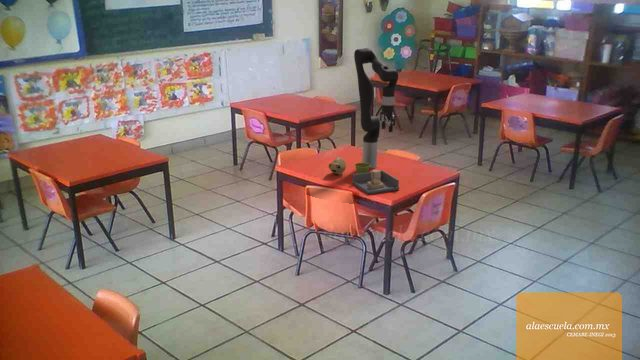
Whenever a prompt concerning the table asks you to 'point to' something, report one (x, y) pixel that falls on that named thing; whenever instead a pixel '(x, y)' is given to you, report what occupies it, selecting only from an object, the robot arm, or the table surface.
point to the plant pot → (362, 167)
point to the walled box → (365, 185)
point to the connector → (375, 177)
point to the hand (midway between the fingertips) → (386, 130)
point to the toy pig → (337, 166)
